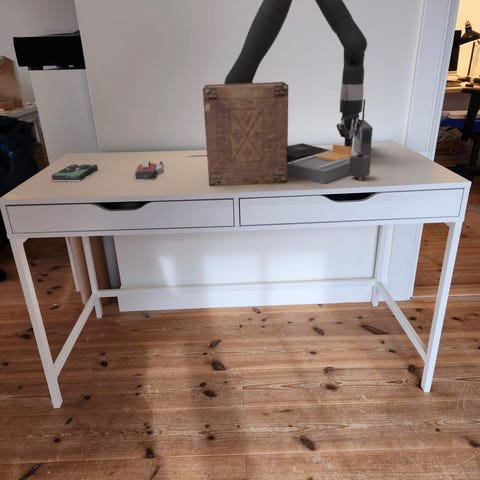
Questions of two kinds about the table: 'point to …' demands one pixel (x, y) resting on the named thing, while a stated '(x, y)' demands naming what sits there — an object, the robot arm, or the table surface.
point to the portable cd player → (302, 151)
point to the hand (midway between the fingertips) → (348, 148)
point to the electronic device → (363, 137)
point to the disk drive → (74, 172)
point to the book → (246, 133)
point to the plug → (359, 165)
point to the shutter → (336, 153)
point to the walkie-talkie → (148, 170)
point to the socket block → (318, 169)
